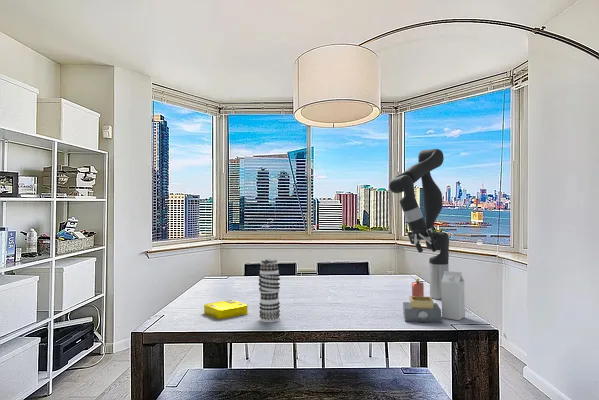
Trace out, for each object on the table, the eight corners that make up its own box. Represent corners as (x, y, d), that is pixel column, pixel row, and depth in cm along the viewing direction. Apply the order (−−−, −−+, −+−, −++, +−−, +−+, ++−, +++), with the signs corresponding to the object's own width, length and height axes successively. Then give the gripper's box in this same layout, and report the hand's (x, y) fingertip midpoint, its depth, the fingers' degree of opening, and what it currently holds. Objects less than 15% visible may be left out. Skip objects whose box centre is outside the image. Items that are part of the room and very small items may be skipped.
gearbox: (403, 313, 176) (402, 295, 177) (437, 315, 174) (436, 296, 174) (405, 322, 163) (404, 302, 164) (441, 323, 161) (441, 303, 161)
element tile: (202, 314, 182) (202, 303, 182) (231, 308, 192) (231, 298, 192) (218, 320, 170) (218, 309, 171) (249, 314, 180) (249, 303, 180)
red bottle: (411, 308, 186) (411, 277, 186) (423, 308, 185) (422, 277, 185) (412, 311, 181) (412, 279, 181) (424, 311, 180) (423, 279, 180)
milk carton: (447, 314, 175) (447, 269, 175) (465, 317, 170) (464, 271, 171) (441, 317, 169) (440, 271, 170) (459, 320, 165) (458, 273, 165)
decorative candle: (260, 323, 164) (260, 261, 165) (256, 317, 173) (256, 258, 174) (283, 321, 167) (282, 260, 167) (277, 315, 176) (277, 257, 176)
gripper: (431, 213, 178) (445, 247, 179) (409, 217, 191) (421, 249, 192) (420, 219, 175) (434, 254, 175) (398, 223, 187) (411, 255, 188)
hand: (427, 251), depth 183 cm, fingers open, 8 cm apart
